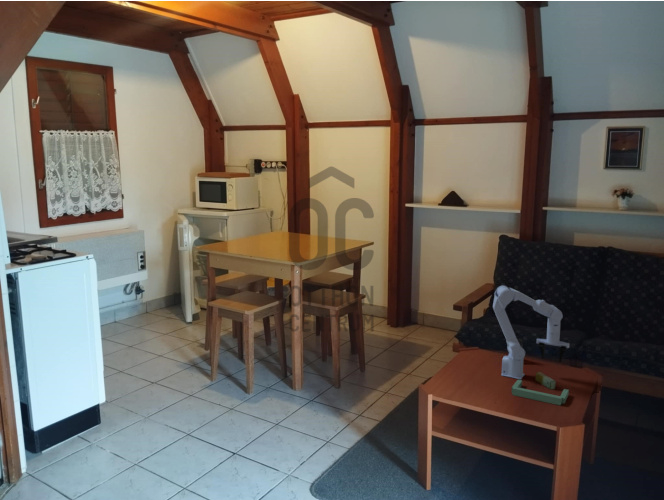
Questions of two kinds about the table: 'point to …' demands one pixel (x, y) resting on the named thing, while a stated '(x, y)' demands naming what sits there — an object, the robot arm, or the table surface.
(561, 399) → the green u-shaped bracket
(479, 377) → the table surface
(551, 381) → the medication box
